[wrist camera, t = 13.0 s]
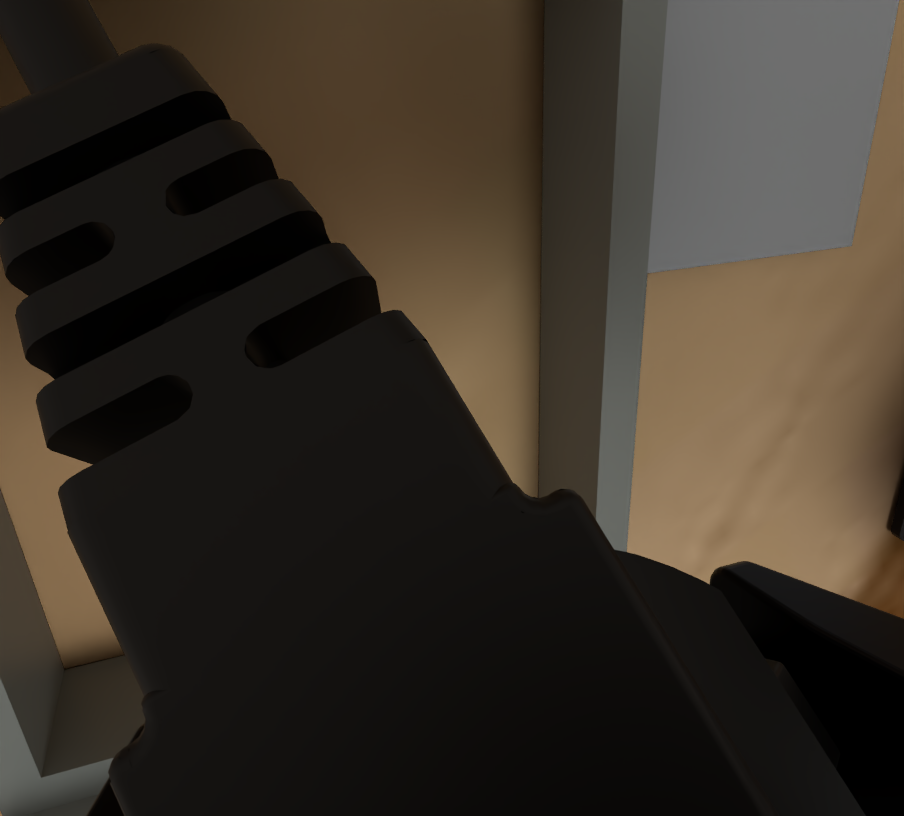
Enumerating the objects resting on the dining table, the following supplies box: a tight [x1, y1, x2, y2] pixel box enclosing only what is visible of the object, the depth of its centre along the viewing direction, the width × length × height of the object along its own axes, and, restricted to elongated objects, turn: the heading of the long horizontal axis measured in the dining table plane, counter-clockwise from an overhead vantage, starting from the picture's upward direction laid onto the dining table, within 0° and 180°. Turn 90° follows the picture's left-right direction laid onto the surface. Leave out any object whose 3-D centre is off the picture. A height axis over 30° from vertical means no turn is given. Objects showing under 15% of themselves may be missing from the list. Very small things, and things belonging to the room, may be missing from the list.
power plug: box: [0, 0, 866, 816], centre depth 7 cm, size 6×8×12 cm
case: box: [0, 0, 668, 816], centre depth 15 cm, size 19×16×7 cm
